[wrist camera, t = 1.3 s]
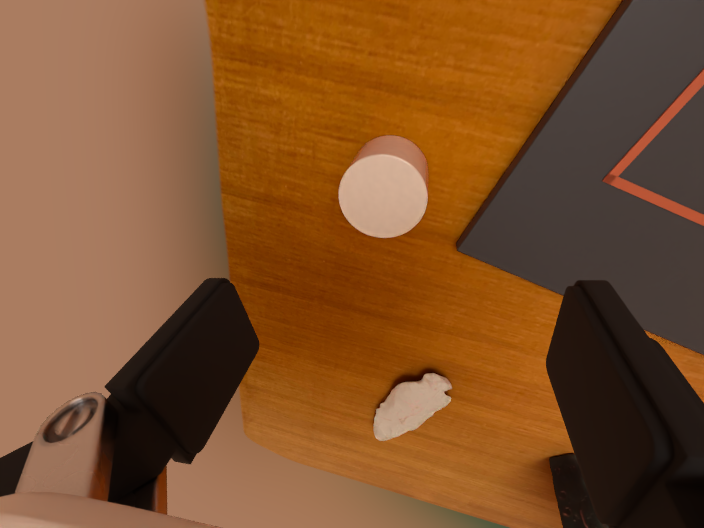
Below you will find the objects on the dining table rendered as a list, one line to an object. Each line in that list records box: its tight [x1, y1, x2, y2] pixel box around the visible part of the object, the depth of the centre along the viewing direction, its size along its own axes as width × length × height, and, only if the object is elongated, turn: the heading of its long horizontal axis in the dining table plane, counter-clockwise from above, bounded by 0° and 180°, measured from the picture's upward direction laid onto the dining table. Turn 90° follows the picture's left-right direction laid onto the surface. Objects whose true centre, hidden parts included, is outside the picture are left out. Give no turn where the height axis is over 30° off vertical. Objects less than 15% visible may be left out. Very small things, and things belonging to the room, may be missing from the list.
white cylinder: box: [338, 135, 428, 238], centre depth 19 cm, size 5×5×4 cm
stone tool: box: [373, 373, 452, 441], centre depth 35 cm, size 6×2×15 cm
